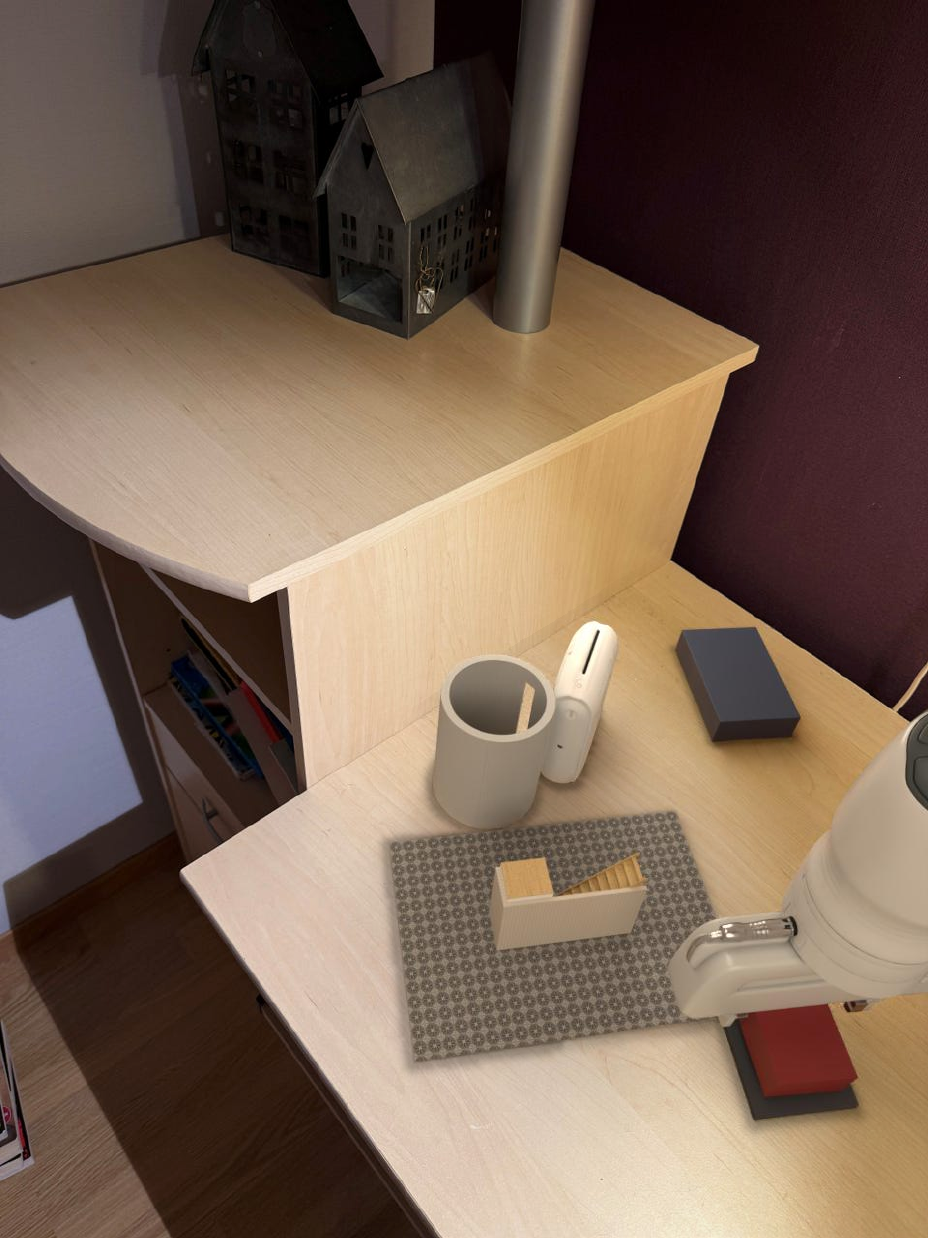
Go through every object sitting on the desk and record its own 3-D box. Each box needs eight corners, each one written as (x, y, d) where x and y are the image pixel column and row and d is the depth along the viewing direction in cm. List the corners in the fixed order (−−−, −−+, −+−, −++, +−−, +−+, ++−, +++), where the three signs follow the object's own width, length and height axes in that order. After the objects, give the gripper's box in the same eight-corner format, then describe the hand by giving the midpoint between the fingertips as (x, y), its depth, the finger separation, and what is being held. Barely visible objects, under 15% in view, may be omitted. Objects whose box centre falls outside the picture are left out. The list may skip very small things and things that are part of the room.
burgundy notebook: (716, 956, 69) (729, 941, 67) (786, 953, 70) (801, 938, 69) (764, 1097, 62) (779, 1084, 60) (841, 1091, 63) (858, 1078, 62)
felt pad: (790, 944, 72) (793, 940, 71) (856, 1108, 63) (859, 1105, 63) (699, 952, 70) (701, 949, 70) (753, 1121, 62) (756, 1118, 62)
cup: (419, 811, 78) (425, 722, 69) (450, 732, 84) (460, 642, 76) (521, 842, 76) (540, 755, 68) (545, 759, 83) (566, 671, 74)
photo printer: (576, 792, 80) (602, 701, 72) (530, 776, 81) (550, 685, 73) (603, 709, 87) (629, 618, 79) (560, 696, 88) (581, 604, 80)
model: (489, 911, 71) (496, 860, 66) (619, 895, 73) (636, 844, 68) (496, 950, 69) (504, 901, 64) (630, 933, 71) (649, 883, 65)
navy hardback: (674, 649, 94) (681, 629, 92) (747, 646, 95) (755, 626, 93) (711, 742, 86) (720, 722, 84) (791, 737, 87) (801, 717, 85)
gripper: (717, 984, 51) (662, 1071, 61) (1041, 949, 54) (940, 1038, 64) (683, 883, 56) (638, 979, 66) (985, 856, 59) (899, 952, 68)
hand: (789, 1008), depth 65 cm, fingers open, 8 cm apart
